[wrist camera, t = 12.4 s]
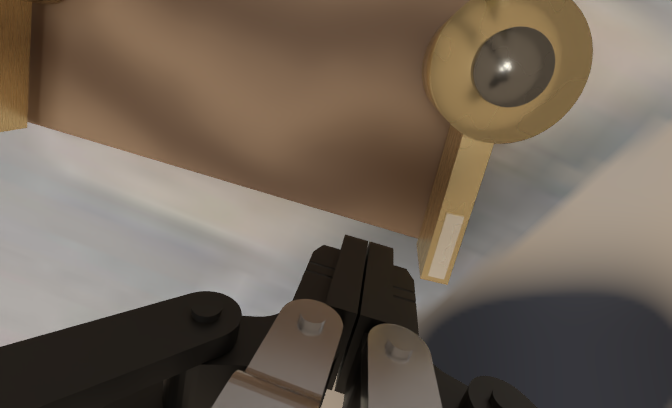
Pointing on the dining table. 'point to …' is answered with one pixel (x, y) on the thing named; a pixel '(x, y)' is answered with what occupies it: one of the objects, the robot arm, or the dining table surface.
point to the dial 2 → (494, 100)
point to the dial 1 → (15, 61)
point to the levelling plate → (254, 94)
